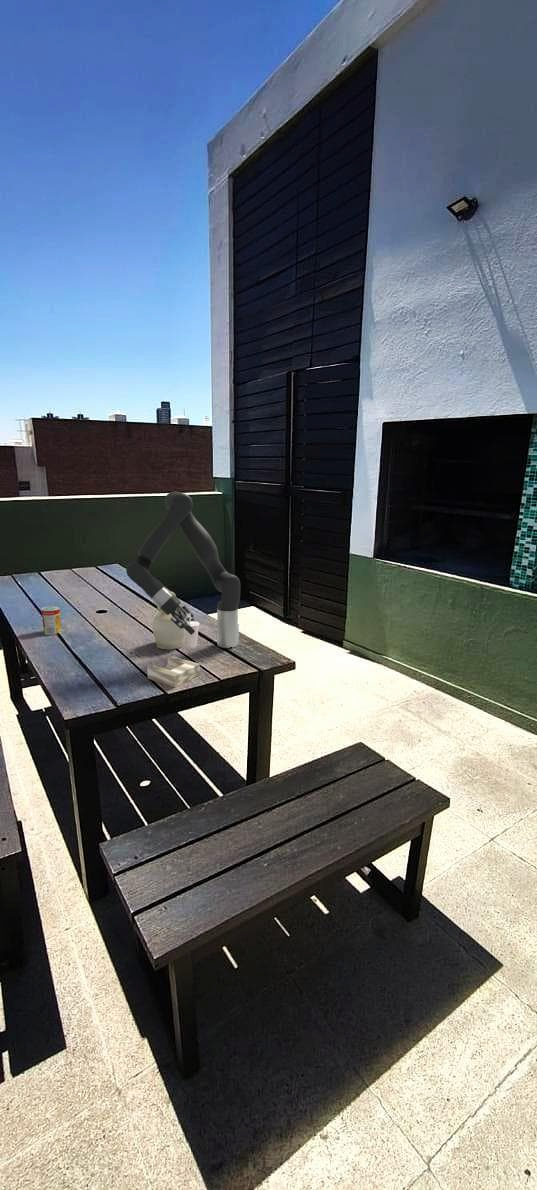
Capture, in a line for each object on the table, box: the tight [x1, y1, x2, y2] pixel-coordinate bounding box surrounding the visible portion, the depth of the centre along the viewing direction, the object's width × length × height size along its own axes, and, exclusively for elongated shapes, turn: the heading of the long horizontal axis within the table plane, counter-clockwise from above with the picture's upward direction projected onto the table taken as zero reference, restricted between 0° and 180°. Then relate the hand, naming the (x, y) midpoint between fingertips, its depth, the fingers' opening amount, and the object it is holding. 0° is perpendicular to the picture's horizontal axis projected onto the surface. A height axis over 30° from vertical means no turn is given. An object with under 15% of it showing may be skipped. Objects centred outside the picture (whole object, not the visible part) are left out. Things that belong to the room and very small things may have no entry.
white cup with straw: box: [185, 613, 200, 649], centre depth 196 cm, size 6×6×14 cm
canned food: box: [41, 605, 63, 636], centre depth 232 cm, size 8×8×12 cm
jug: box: [151, 590, 186, 650], centre depth 218 cm, size 15×16×25 cm
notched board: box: [146, 655, 201, 688], centre depth 187 cm, size 14×14×4 cm
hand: (195, 630), depth 196 cm, fingers closed on white cup with straw, 6 cm apart
